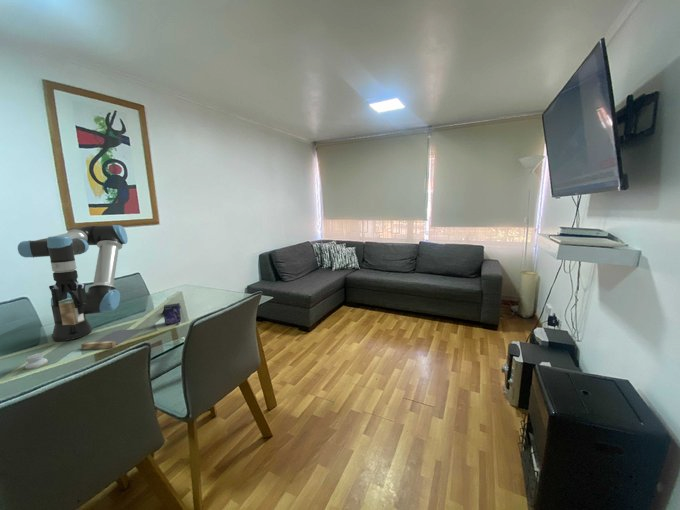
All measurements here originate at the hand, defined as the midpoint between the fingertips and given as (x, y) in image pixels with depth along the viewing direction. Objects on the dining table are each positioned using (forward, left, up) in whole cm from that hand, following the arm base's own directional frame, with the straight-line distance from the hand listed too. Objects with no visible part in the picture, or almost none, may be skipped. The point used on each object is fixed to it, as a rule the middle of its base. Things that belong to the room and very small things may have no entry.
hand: (73, 320), depth 121 cm
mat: (+5, +16, -16) cm, 23 cm away
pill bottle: (-10, -9, -23) cm, 27 cm away
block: (0, 0, -1) cm, 1 cm away
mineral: (+20, +44, -16) cm, 51 cm away
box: (+24, +34, -16) cm, 44 cm away
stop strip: (+5, +5, -16) cm, 17 cm away
